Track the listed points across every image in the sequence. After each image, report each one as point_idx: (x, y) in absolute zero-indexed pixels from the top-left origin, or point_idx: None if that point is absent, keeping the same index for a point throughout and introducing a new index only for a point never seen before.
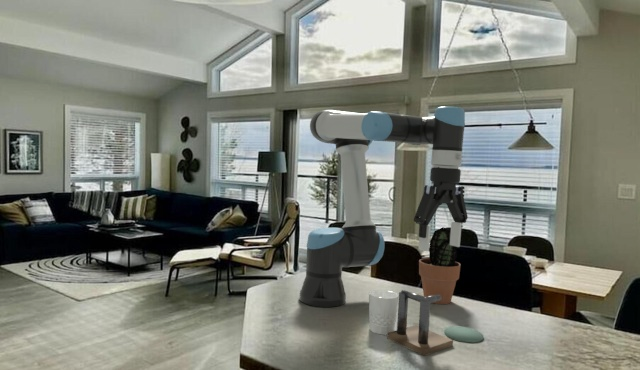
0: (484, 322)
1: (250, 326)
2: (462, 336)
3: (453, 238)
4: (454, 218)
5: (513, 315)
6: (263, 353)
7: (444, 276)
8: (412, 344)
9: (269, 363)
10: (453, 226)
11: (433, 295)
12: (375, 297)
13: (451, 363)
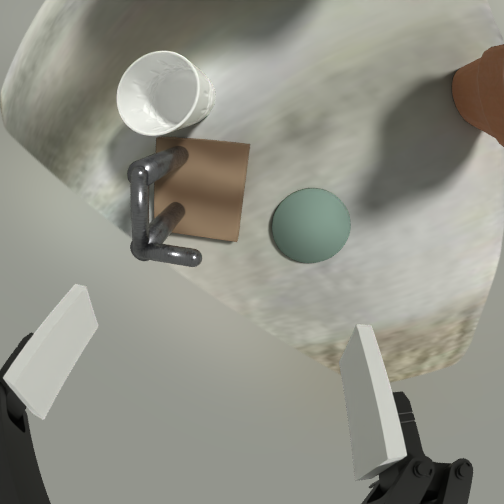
0: (413, 225)
1: (43, 6)
2: (289, 235)
3: (357, 373)
4: (393, 485)
5: (475, 248)
6: (9, 97)
7: (496, 127)
8: (154, 202)
9: (4, 126)
10: (372, 437)
11: (170, 258)
12: (117, 102)
13: (173, 265)
